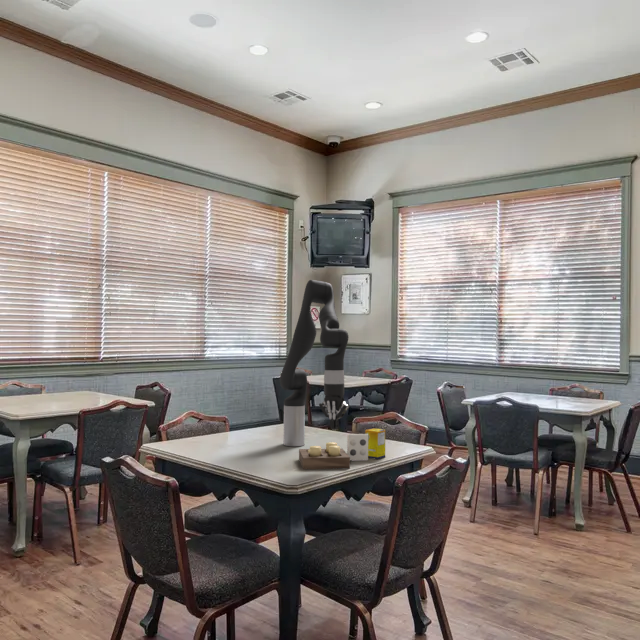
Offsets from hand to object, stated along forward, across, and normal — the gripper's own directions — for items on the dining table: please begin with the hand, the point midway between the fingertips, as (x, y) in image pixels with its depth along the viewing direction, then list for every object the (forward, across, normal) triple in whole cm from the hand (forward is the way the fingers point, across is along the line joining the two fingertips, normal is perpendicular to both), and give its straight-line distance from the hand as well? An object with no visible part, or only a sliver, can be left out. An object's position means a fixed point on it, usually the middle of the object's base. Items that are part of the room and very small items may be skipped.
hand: (334, 429), depth 223 cm
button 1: (+12, +10, 0) cm, 16 cm away
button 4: (+10, 0, 0) cm, 10 cm away
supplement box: (+14, -3, -23) cm, 27 cm away
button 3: (+9, +5, -5) cm, 12 cm away
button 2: (+10, +5, +5) cm, 12 cm away
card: (+13, -1, -14) cm, 19 cm away
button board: (+13, +5, 0) cm, 14 cm away
